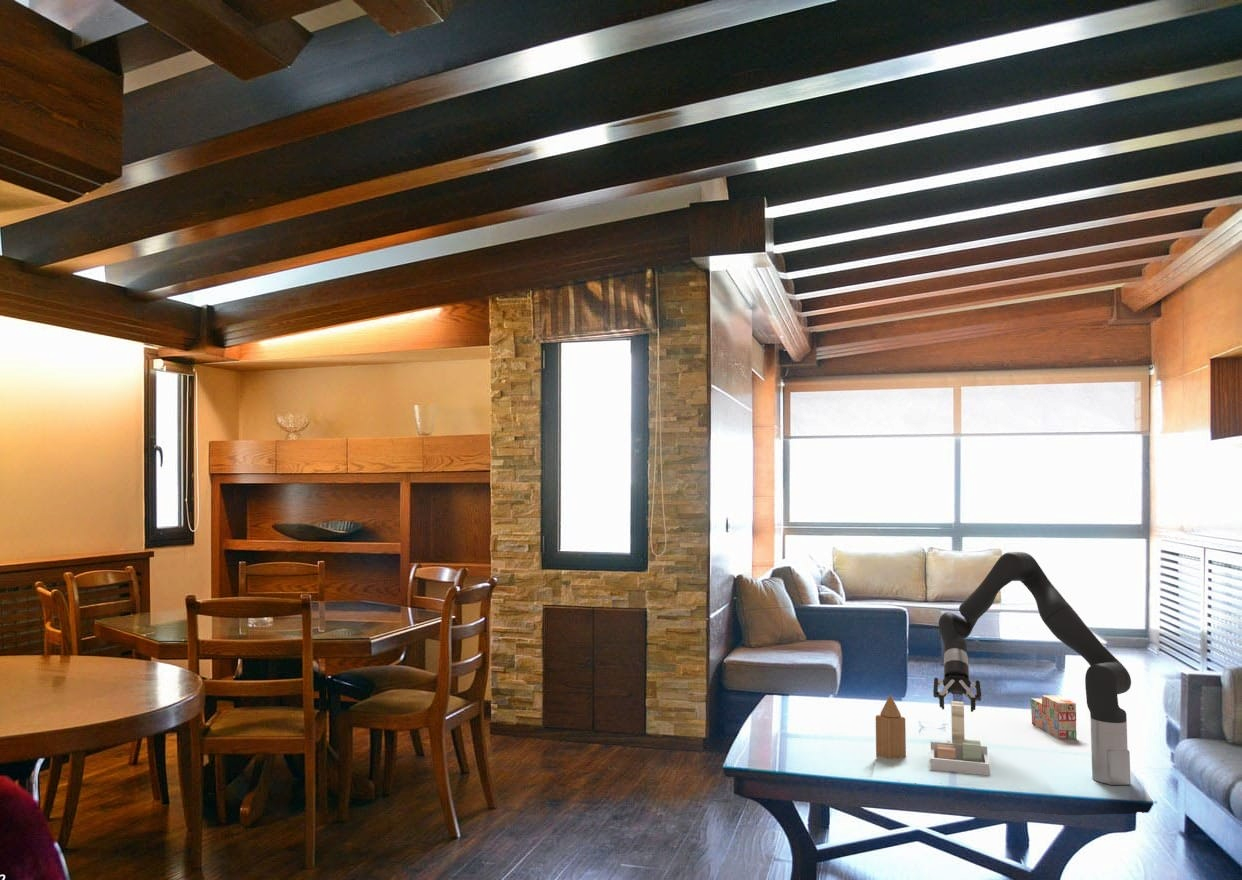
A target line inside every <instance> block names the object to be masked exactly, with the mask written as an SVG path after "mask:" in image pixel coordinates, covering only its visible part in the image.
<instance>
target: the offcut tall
mask: <svg viewBox="0 0 1242 880" xmlns="http://www.w3.org/2000/svg"><path fill="white" fill-rule="evenodd" d="M981 746H982V744H981V740H977V739H962V757H963V761H971V762H981Z"/></svg>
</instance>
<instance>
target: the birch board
mask: <svg viewBox="0 0 1242 880" xmlns="http://www.w3.org/2000/svg"><path fill="white" fill-rule="evenodd" d="M950 704H951V705H950V708H951V743H957V744H962V739H965V704H964V701H958V700H955V701H954V700H951V703H950Z"/></svg>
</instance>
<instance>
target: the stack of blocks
mask: <svg viewBox="0 0 1242 880" xmlns="http://www.w3.org/2000/svg"><path fill="white" fill-rule="evenodd" d="M1030 707H1031V711H1030V712H1031V724H1032V725H1034V726H1036V727H1037V728H1039V729H1040V730H1043V731H1044V732H1046V733H1048V734H1050V735H1051V736H1053V737H1054V738H1057V740H1077V703H1076V702H1074V701H1072V700H1071V699H1069V698H1066V697H1063V696H1061V695H1058V694H1054V695H1053V694H1052V695H1050V694H1049V695H1048V694H1047V695H1046V694H1043V695H1041V698H1036V697H1035V698H1030Z"/></svg>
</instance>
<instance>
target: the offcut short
mask: <svg viewBox="0 0 1242 880" xmlns="http://www.w3.org/2000/svg"><path fill="white" fill-rule="evenodd" d="M938 758H940V759H950V760H956V750H955V746H953V745H942V744H938Z"/></svg>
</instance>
